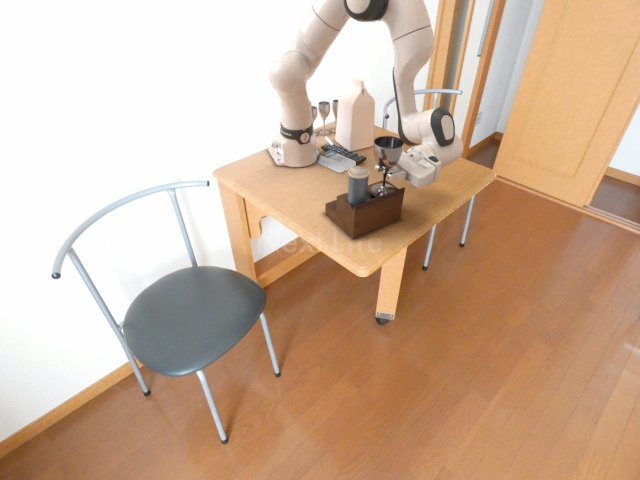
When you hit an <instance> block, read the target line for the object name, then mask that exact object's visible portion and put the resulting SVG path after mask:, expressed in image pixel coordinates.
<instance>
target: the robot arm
mask: <svg viewBox="0 0 640 480" xmlns="http://www.w3.org/2000/svg"><path fill="white" fill-rule="evenodd" d="M350 19H353V20H354V21H357V22H361V23H376V22H384V23H385V25H386V27H387V28H388V32H389V35H390V39H391V42H392V47H393V57H394V60H393V61H394V62H393V67H392V84H393V91H394V99H395V105H396V112H397V134H398V138H399V139H401V140H402V141H403V143H404V145H406V146H407V147H409V148H408V149H407V150H406V151H404V150H403V151H402V155H401V158H400V160H399V162H398V164H397V165H396V166H394V167H393V168H392V169H390V170H389V172H388V173H387V176H386V179H388V180H389V181H390V182H393V181H395V180H396V181H403V180H404V181H405V182H407V183H408V184H410V185H411V186H413V187H415V188H416V189H424V188H426V187H429V186H431V185H432V184H436V183H438V180H439V177H440V174H441V170H442V169H443V168H445V167H448V166H450V165H452V164H454V163H455V162H457V161H458V160H459V159H461V157H462V155H463V154H464V153H463V152H464V143H463V141H462V139H461V138H460V137H459V135H457V133H456V126H455V120H454V117H453V115H452V113H451V112H450V110H448V109H446V108H445V107H443V106H440V107H435V108H431V109H426V110H423V111H418V109H417V104H416V103H417V102H416V96H415V94H416V93H415V87H414V84H415V80H416V77H417V75H418V74H419V72H420V71H421V70H422V69H423V68H424V67H425V66H426V64H428V62H429V61H430V60H431V57H432V55H433V54H434V50H435V36H434V35H435V34H434V31H433V27H432V26H433V25H432V23H431V18H430V15H429V12H428V9H427V6H426V3H425V1H424V0H314V2H313V3H312V5H311V6H310V8H309V9H308V12H307V13H306V15H305V16H304V18H303V20H302V22H301V23H300V25H299V27H298V30H297V31H298V32H297V33H296V36H295V38H294V40H293V43H292V45H291V46H290V47H289V48H288V50H287V51H286V52H285V53H284V54H282V55H280V56H279V57H277V58H276V59H275V60H274V62H273V63H272V65H271V67H270V68H269V72H268V79H269V82H270V85H271V86H272V88H273V89H274V90H275V91H276V94H277V97H278V101H279V106H280V116H281V117H280V118H281V121H280V124H279V126H280V128H279V132H277V134H275V135H274V136H273V139H272V140H273V141H272V142H271V145H270V146H269V147H268V148H267V151H268V153H269V154H270V156H271V158H272V159H273V161H274V163H275V165H276V166H281V167H282V166H283V167H285V166H286V167H290V168H304V167H309V166H311V165H312V164H313V165H314V163H316V161H317V159H318V156H320V151H319V150H318V149H317V139H316V137H317V136H315V135H314V134H313V132H314V122H313V123H312V110H311V106H312V101H311V99H309V98H310V97H309V96H308V95H309V94H308V91H307V83H308V81H309V79H311V78H312V77H313V76H314V74H315V73H316V71H317V69H318V67H319V66H320V65H321V63H322V60H323V59H324V58H325V56H326V54H327V52H328V50H329V49H330V48H331V46H332V45H333V43H334V41H335V40H336V39H337V38H338V36H339V34H340V33H341V32H342V30H343V28H344V27H345V25H346V24H347V22H348V21H349V20H350ZM325 140H326V141H327V142H328V143H329V144H330V146H333V142H332V141H331V140H330V139H329V138H328V137H327V136H325ZM374 171H375V172H377V173H381V172H382V170H381V168H380V167H379V166H378V165H377V164H375V166H374Z"/></svg>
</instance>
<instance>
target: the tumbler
mask: <svg viewBox="0 0 640 480" xmlns="http://www.w3.org/2000/svg"><path fill="white" fill-rule="evenodd" d="M370 173H371V171H370V169H369V168H367V167H365V166H361V165H359V166H358V165H356V166H351V167H350V168H349V169H348V170H347V174H348V175H347V192H346V193H347V200H348V202H350V203H351V204H355V205H357V204H360V203H363V202H366V201H367V192H368V185H369V181H370Z"/></svg>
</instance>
